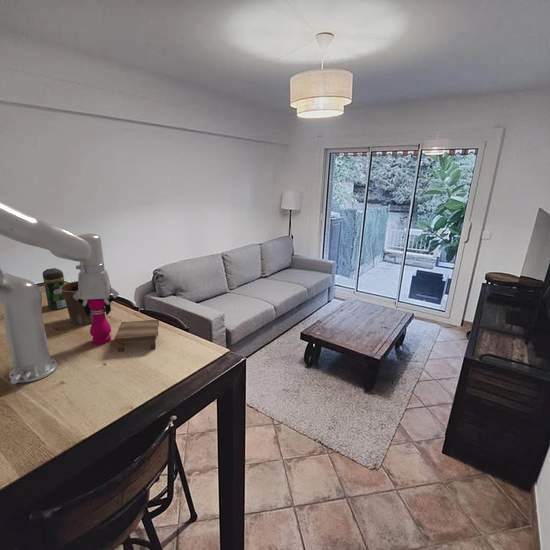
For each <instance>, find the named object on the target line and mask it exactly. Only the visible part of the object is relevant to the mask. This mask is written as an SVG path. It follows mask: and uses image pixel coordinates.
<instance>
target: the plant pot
mask: <svg viewBox="0 0 550 550" xmlns="http://www.w3.org/2000/svg"><path fill="white" fill-rule="evenodd" d="M60 290H61V291H62V294H63V297H64V298H65V302H66V305H67V307H66V309H67V312H68V315H69V316H68V317H69V320H70V323H71V324H73V325H74V326H75V325H76V326H86V325H90V324H91V325H92V321H93V316H92V314H90V315H89V316H87V313H85V309H84V306H83V304H81V303H80V302H78V300H76V299H74V298H73V295H74V294H75V293H76V292H77V291H78V280H76V281H72V282H68V283H65V284H64V285H62V286H61V287H60Z"/></svg>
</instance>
